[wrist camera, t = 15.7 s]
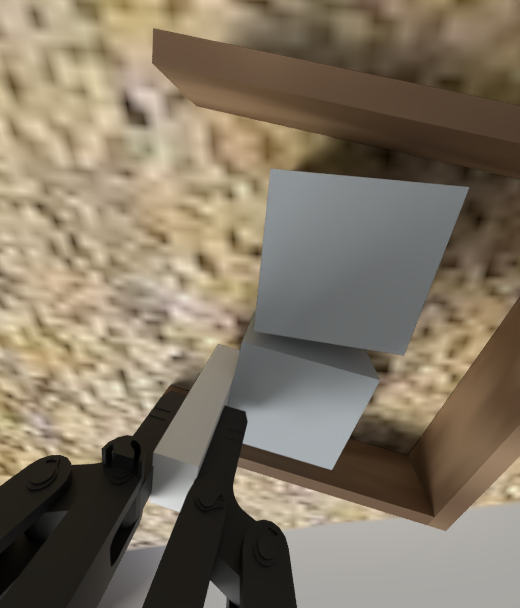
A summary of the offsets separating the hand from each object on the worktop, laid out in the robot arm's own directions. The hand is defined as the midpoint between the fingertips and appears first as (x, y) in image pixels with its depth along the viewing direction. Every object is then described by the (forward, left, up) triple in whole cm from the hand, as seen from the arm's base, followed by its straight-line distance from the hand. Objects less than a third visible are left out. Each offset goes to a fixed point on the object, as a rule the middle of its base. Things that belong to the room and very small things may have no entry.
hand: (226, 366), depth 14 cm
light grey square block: (-7, +4, -2) cm, 8 cm away
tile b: (0, +4, -2) cm, 4 cm away
